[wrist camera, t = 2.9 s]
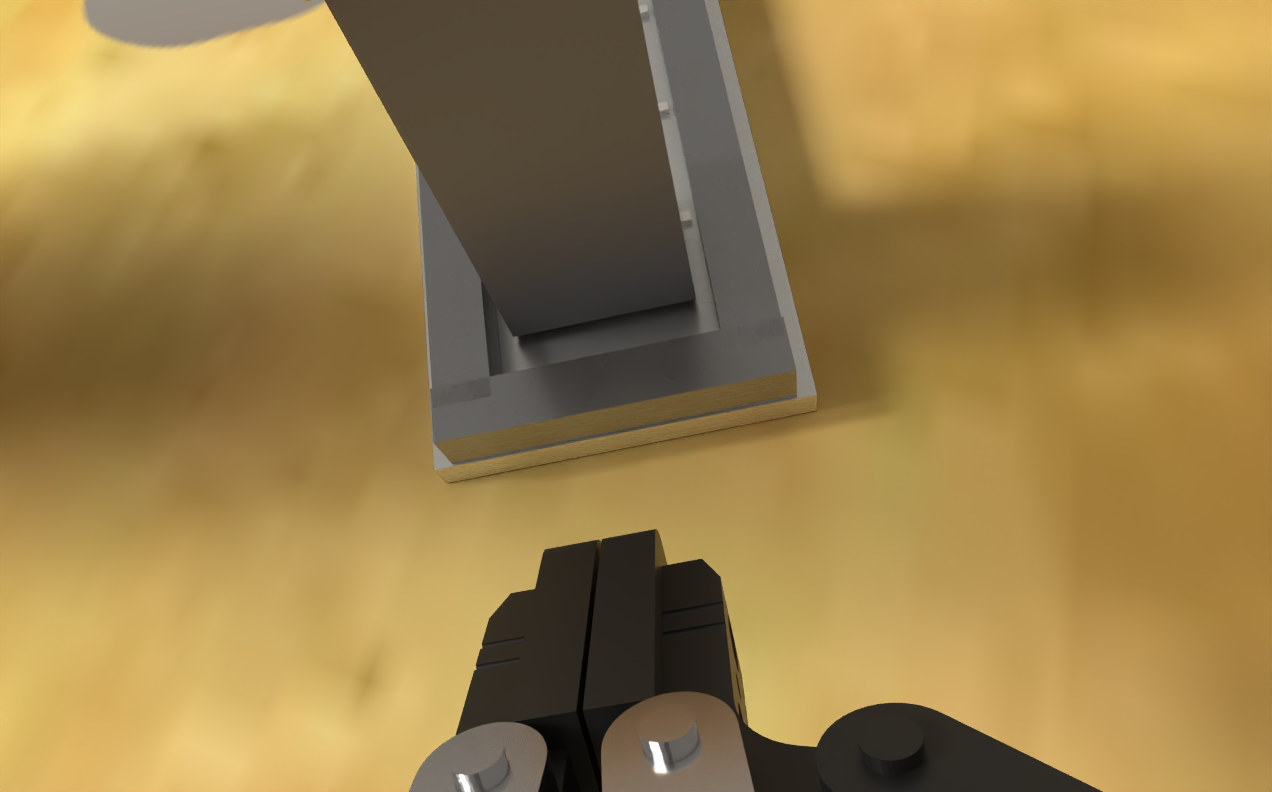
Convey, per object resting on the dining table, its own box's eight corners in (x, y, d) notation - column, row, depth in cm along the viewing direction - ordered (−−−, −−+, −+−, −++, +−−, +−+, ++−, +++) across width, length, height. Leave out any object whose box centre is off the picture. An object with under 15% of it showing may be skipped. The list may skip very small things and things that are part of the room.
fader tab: (705, 305, 26) (622, -147, 14) (507, 346, 27) (269, -61, 15) (680, 184, 28) (589, -307, 16) (494, 225, 28) (273, -227, 17)
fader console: (816, 410, 26) (817, 368, 24) (446, 482, 27) (413, 448, 25) (670, -178, 36) (661, -246, 34) (407, -114, 37) (381, -176, 35)
